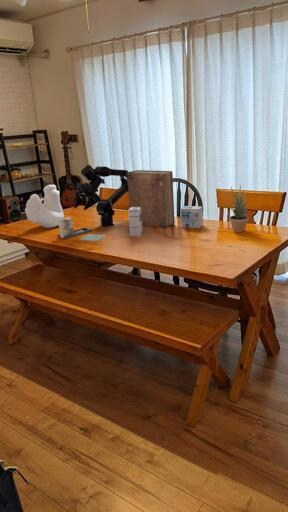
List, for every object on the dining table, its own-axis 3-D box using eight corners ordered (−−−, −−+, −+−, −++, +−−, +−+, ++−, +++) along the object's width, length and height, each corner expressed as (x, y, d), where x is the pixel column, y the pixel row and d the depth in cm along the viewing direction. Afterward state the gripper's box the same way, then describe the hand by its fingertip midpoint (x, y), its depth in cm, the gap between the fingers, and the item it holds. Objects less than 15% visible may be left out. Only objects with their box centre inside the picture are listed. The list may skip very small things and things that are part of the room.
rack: (85, 230, 233) (84, 227, 233) (92, 231, 228) (91, 229, 228) (57, 237, 222) (57, 234, 221) (64, 239, 217) (64, 236, 216)
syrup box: (140, 236, 213) (139, 209, 209) (129, 236, 215) (127, 209, 210) (143, 233, 219) (141, 206, 214) (132, 233, 220) (130, 207, 215)
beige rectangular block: (71, 234, 225) (69, 217, 222) (74, 235, 223) (72, 217, 220) (60, 237, 221) (58, 219, 218) (63, 238, 219) (61, 220, 216)
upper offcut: (81, 231, 229) (81, 230, 229) (84, 232, 227) (84, 230, 227) (75, 233, 227) (74, 231, 226) (78, 234, 224) (78, 232, 224)
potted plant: (227, 232, 210) (227, 184, 202) (232, 227, 217) (232, 181, 210) (246, 234, 205) (247, 184, 197) (251, 229, 213) (252, 181, 205)
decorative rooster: (58, 221, 259) (52, 182, 251) (70, 225, 247) (65, 184, 239) (20, 229, 244) (13, 188, 236) (32, 234, 232) (25, 190, 225)
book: (175, 224, 233) (172, 171, 223) (165, 228, 226) (162, 173, 216) (140, 220, 248) (137, 170, 238) (130, 223, 241) (126, 172, 232)
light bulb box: (180, 227, 225) (180, 208, 222) (184, 224, 231) (183, 205, 228) (199, 228, 221) (199, 208, 218) (202, 225, 227) (202, 206, 224)
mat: (88, 234, 223) (88, 234, 223) (106, 235, 219) (106, 235, 219) (78, 240, 213) (78, 239, 213) (97, 241, 209) (96, 240, 209)
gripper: (74, 175, 228) (60, 198, 225) (94, 177, 215) (79, 202, 212) (87, 187, 236) (73, 210, 232) (107, 190, 223) (93, 214, 219)
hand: (79, 208), depth 224 cm, fingers open, 9 cm apart
